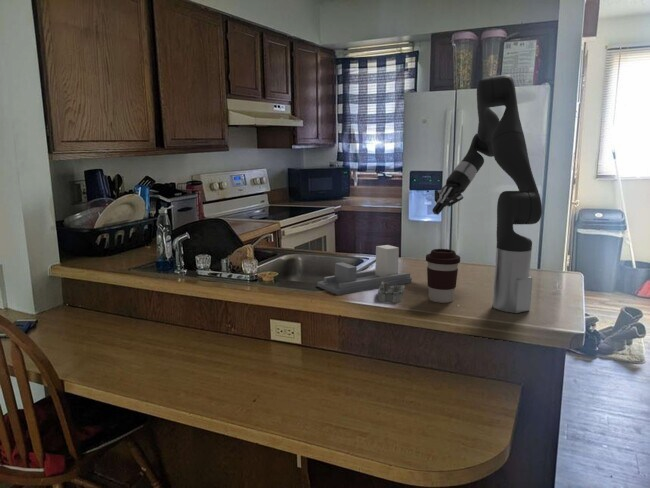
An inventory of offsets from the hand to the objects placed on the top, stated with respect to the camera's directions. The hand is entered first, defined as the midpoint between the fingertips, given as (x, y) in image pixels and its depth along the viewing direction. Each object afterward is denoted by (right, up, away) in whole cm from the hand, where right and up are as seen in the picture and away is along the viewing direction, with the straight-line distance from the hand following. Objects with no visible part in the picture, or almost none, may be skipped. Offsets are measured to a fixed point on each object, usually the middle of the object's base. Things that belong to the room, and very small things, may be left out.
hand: (435, 212), depth 180 cm
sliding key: (-18, -22, -6) cm, 29 cm away
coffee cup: (-4, -28, -27) cm, 39 cm away
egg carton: (-19, -28, -24) cm, 41 cm away
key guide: (-25, -24, -10) cm, 37 cm away
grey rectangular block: (-32, -24, -14) cm, 42 cm away
